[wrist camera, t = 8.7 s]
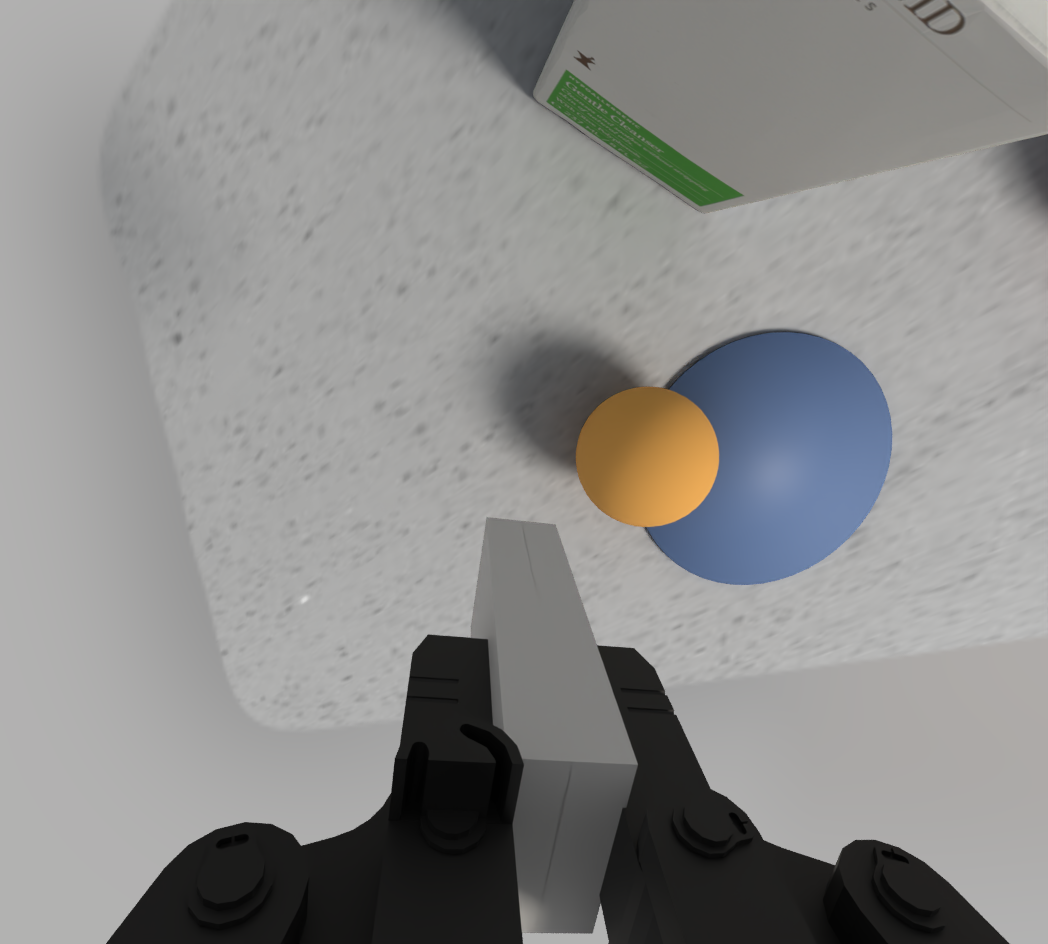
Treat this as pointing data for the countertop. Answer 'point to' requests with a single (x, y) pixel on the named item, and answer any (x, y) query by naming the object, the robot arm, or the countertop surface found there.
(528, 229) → the countertop surface
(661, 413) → the ball
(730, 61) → the skincare box
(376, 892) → the robot arm
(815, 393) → the mark
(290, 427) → the countertop surface
